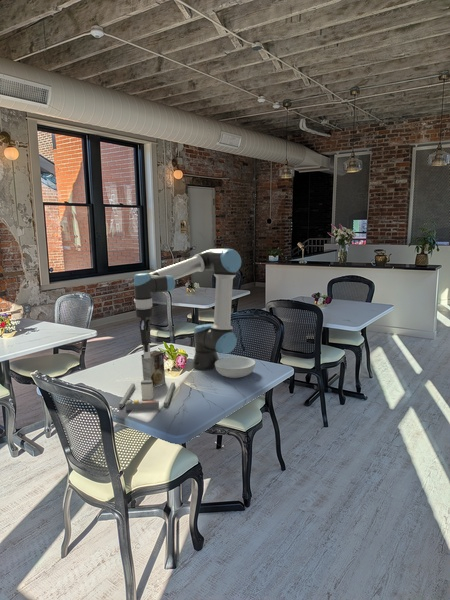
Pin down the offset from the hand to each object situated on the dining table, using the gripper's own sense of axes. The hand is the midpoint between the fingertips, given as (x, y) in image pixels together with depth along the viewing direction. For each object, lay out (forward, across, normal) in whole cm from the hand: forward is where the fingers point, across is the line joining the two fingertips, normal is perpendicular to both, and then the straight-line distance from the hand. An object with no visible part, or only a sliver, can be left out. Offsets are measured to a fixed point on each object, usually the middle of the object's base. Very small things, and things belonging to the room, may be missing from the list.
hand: (147, 357), depth 202 cm
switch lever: (+18, +5, 0) cm, 18 cm away
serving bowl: (+18, -23, +40) cm, 49 cm away
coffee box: (+18, -12, 0) cm, 21 cm away
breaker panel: (+18, +5, 0) cm, 18 cm away
